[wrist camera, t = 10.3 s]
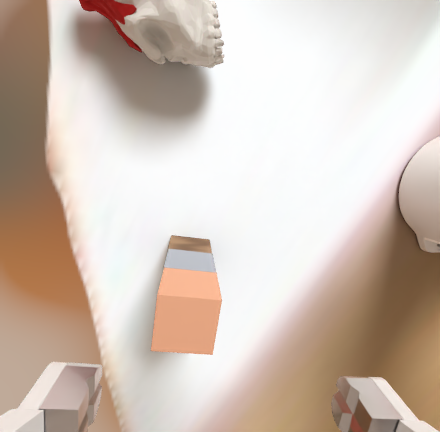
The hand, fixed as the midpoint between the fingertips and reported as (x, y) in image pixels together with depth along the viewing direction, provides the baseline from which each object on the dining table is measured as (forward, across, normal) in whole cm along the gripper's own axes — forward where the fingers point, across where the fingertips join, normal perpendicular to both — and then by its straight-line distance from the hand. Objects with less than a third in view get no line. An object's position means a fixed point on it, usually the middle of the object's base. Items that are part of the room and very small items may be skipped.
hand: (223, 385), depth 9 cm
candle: (+27, +8, -21) cm, 35 cm away
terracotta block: (+16, +1, +6) cm, 17 cm away
